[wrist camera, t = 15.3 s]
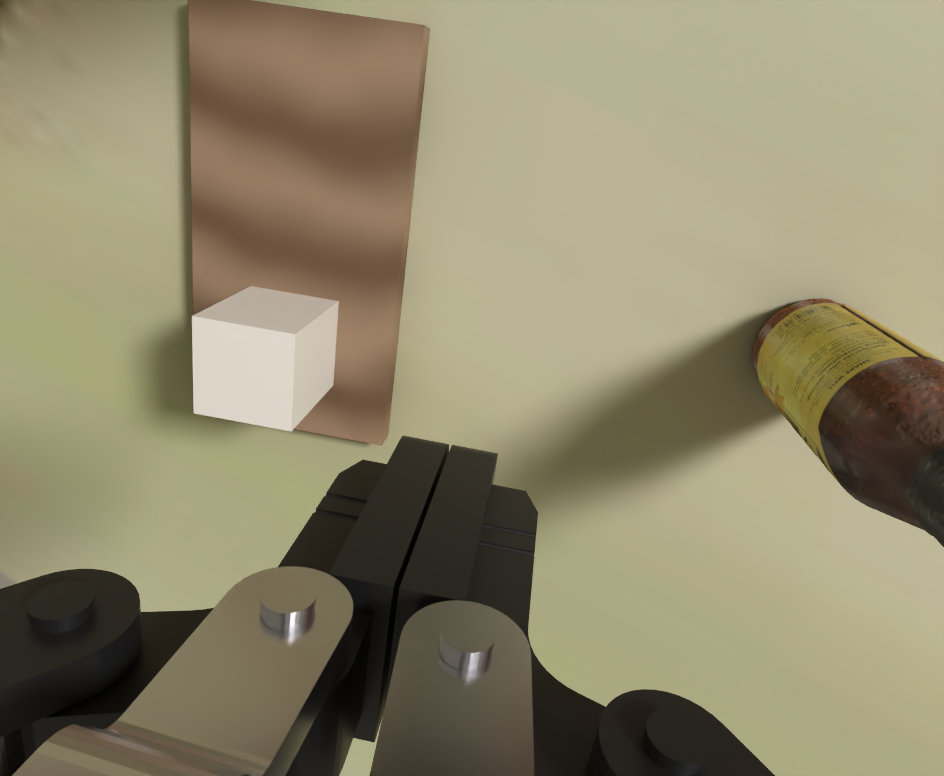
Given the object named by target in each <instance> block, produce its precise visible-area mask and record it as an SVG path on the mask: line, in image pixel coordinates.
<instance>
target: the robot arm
mask: <svg viewBox="0 0 944 776" xmlns="http://www.w3.org/2000/svg"><path fill="white" fill-rule="evenodd" d="M497 456H498V453H492V452H487V451H482V450H477V449H471V448H466V447H461V446H456V445H452V446H451V449H450V451H449V444H444V443H439V442H434V441H429V440H423V439H418V438H413V437H408V436H402V437H401V439H400V441H399V443H398V445H397V447H396V448H395V450H394V452H393V454H392V456H391V458H390V460H389V462H388V463H387V464H382V463H377V462H372V461H367V460H362V461H360V462H358V463H357V464H355V465H353V466H351V467H350V468H348V469H346V470H344V471H343V472H341V473H339V475H338V476H337V478H336V479H335V481H334V482H333V484H332V485H331V487H330V488H329V490H328V491H327V494H326V497H325V496H324V497H323V499H322V500H321V502H320V504H319V505H318V507H317V508H316V512H315V513H313V514H312V516H311V517H310V519H309V520H308V522H307V523H306V525H305V526H304V528H303V529H302V531H301V533H300V534H299V536H298V537H297V539H296V540H295V542H294V543H293V545H292V546H291V548H290V549H289V551H288V552H287V554H286V555H285V557H284V558H283V560H282V561H281V563H280V565H279V566H278V567H277V568H271V569H267V570H263V571H260V572H257V573H255V574H252V575H250V576H248V577H246V578H244V579H243V580H241V581H240V582H238V583H237V584H236V585H234V586H233V587H232V588H231V589H230V590H229V591H228V592H227V594H226V595H225V596H224V597H223V598H222V599H221V601H220V602H219V603H218V604H217V605H216V606H215V608H210V609H205V610H193V611H163V612H141V611H140V598H139V593H138V591H137V589H136V587H135V586H134V585H133V584H132V583H131V582H130V581H129V580H127V579H126V578H124V577H122V576H120V575H118V574H115V573H112V572H108V571H104V570H96V569H74V570H65V571H60V572H54V573H51V574H47V575H43V576H40V577H37V578H34V579H30V580H27V581H24V582H21V583H18V584H15V585H12V586H8V587H5V588H2V589H0V776H339V774H340V772H341V770H342V768H343V765H344V762H345V759H346V757H347V754H348V751H349V748H350V745H351V742H352V740H353V738H357V739H362V740H366V741H371V742H375V739H376V736H377V732H378V729H379V726H380V723H381V727H380V731H379V736H378V740H377V745H376V749H375V754H374V758H373V763H372V767H371V772H370V776H775V775H774V774H773V773H772V772H771V771H770V770H769V769H768V768H767V767H766V766H765V765H764V764H763V763H762V762H761V761H760V760H759V759H758V758H757V757H756V756H755V755H754V754H753V753H752V752H751V751H750V750H748V749H747V748H746V747H745V746H744V745H743V744H742V743H741V742H740V741H739V740H738V739H737V738H736V737H735V736H734V735H733V734H732V733H731V732H730V731H729V730H728V729H727V728H726V727H725V726H724V725H723V724H722V723H721V722H720V721H719V720H718V719H717V718H715V717H714V716H713V715H712V714H711V713H709V712H708V711H706V710H705V709H704V708H702V707H700V706H699V705H697V704H695V703H693V702H692V701H690V700H687V699H685V698H683V697H680V696H678V695H675V694H671V693H668V692H664V691H658V690H645V689H643V690H634V691H630V692H627V693H623V694H621V695H620V696H618V697H616V698H614V699H613V700H612V701H611V702H610V703H609V704H608V705H607V706H606V707H605V706H603V705H601V704H599V703H597V702H595V701H593V700H591V699H589V698H587V697H585V696H583V695H581V694H579V693H577V692H575V691H573V690H571V689H570V688H568V687H566V686H565V685H563V684H562V683H561V682H559V681H558V680H556V679H555V678H554V677H553V676H552V675H551V674H550V673H549V672H548V671H547V670H546V669H545V668H544V667H543V666H542V665H541V663H540V662H539V661H538V659H537V657H536V656H535V654H534V652H533V650H532V648H531V645H530V642H529V637H528V622H529V610H530V599H531V587H532V575H533V564H534V552H535V540H536V538H535V537H536V529H537V517H538V511H537V510H536V508H535V506H534V505H533V503H532V501H531V499H530V498H529V496H528V494H527V492H526V491H522V490H517V489H512V488H507V487H502V486H497V485H493V480H494V474H495V468H496V462H497ZM382 717H383V718H382ZM381 720H382V722H381Z"/></svg>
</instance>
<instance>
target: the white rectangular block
mask: <svg viewBox="0 0 944 776" xmlns="http://www.w3.org/2000/svg"><path fill="white" fill-rule="evenodd" d="M338 305H339V301H335V300H329V299H323V298H318V297H312V296H306V295H300V294H294V293H288V292H283V291H277V290H271V289H265V288H259V287H254V286H250V287H248V288H246V289H244V290H242V291H240V292H238V293H236V294H234V295H232V296H230V297H228V298H226V299H224V300H223V301H221V302H219V303H217V304H215V305H213V306H211V307H209V308H207V309H205V310H203V311H201V312H199V313H197V314H195V315H193V316H192V350H193V405H194V413H195V414H200V415H206V416H211V417H216V418H222V419H227V420H232V421H238V422H243V423H248V424H254V425H259V426H264V427H270V428H275V429H280V430H286V431H292V430H293V429H294V428H295V427H296V426H297V425H298V424H299V423H300V422H301V420H302V419H303V418H304V417H305V416H306V415H307V414H308V413H309V412H310V411H311V409H312V408H313V407H314V406H315V405H316V404H317V403H318V402H319V401H320V400H321V398H322V397H323V396H324V395H325V394H326V393H327V392H328V391H329V390H330V389H331V387H332V386H333V382H334V367H335V352H336V336H337V321H338Z"/></svg>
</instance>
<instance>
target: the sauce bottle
mask: <svg viewBox="0 0 944 776" xmlns="http://www.w3.org/2000/svg"><path fill="white" fill-rule="evenodd" d="M752 358H753V364H754V367H755V371H756V372H757V378H758V380H759V382H760V384H761V387H762V389H763V391H764V392H765V394H766V395H767V396H768V397H769V398H770V400H771V401H772V402H773V403H774V404H775V406H776V407H777V408H778V409H779V410H780V412H781V413H782V414H783V415H784V416H785V418H786V419H787V420H788V421H789V423H790V424H791V425H792V427H793V428H794V429H795V430H796V432H797V433H798V434H799V435H800V436H801V437H802V439H803V440H804V441H805V443H806V444H807V445H808V446H809V447H810V449H811V450H812V451H813V452H814V453H815V455H816V456H817V457H818V458H819V459H820V460H821V461H822V463H823V464H824V465H825V467H826V468H827V469H828V471H829V472H830V473H831V474H832V475H833V476H834V477H835V479H836V480H837V481H838V482H839V483H840V485H841V486H842V487H843V488H844V489H845V490H846V491H847V492H848V493H849V494H850V495H851V496H853V497H854V498H855V499H857V500H858V501H859V502H861V503H863V504H865V505H867V506H868V507H871V508H873V509H876V510H878V511H880V512H883V513H885V514H887V515H890V516H892V517H894V518H897V519H899V520H901V521H904V522H906V523H909V524H911V525H913V526H916V527H918V528H921V529H923V530H925V531H926V532H928V533H929V534H930V535H932V536H934V537H935V538H936V539H937V540H938V541H939V543H940V544H941V545H942V546H943V547H944V361H942V360H940V359H939V358H937V357H935V356H934V355H932V354H930V353H929V352H927V351H925V350H924V349H922V348H920V347H918V346H917V345H915V344H913V343H912V342H910V341H908V340H907V339H905V338H904V337H902V336H900V335H899V334H897V333H895V332H894V331H892V330H890V329H888V328H887V327H885V326H883V325H882V324H880V323H878V322H877V321H875V320H873V319H872V318H870V317H868V316H866V315H865V314H863V313H861V312H860V311H858V310H856V309H854V308H852V307H850V306H847V305H845V304H840V303H835V302H834V301H832V300H829V299H808V300H804V301H799V302H797V303H795V304H792V305H790V306H787V307H785V308H783V309H782V310H779V311H778V312H777V313H775V314H774V315H773V316H772V317H771V318H770V319H769V320H768V321H767V322H766V323H765V325H764V326H763V328H762V329H761V330H760V332H759V333H758V335H757V339H756V341H755V343H754V347H753V354H752Z"/></svg>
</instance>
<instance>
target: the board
mask: <svg viewBox="0 0 944 776" xmlns="http://www.w3.org/2000/svg"><path fill="white" fill-rule="evenodd" d="M188 5H189V70H190V135H191V199H192V264H193V315H195V314H197V313H199V312H201V311H203V310H205V309H207V308H209V307H211V306H213V305H215V304H217V303H219V302H221V301H223V300H224V299H226V298H228V297H230V296H232V295H234V294H236V293H238V292H240V291H242V290H244V289H246V288H248V287H250V286H254V287H259V288H265V289H271V290H277V291H283V292H288V293H294V294H300V295H306V296H312V297H318V298H323V299H329V300H335V301H339V305H338V321H337V336H336V352H335V367H334V382H333V386H332V387H331V389H330V390H329V391H328V392H327V393H326V394H325V395H324V396H323V397H322V398H321V400H320V401H319V402H318V403H317V404H316V405H315V406H314V407H313V408H312V409H311V411H310V412H309V413H308V414H307V415H306V416H305V417H304V418H303V419H302V420H301V422H300V423H299V424H298V425H297V426H296V427H295V428H294V429H297V430H302V431H307V432H313V433H318V434H323V435H329V436H334V437H339V438H344V439H350V440H355V441H360V442H366V443H371V444H376V445H381V446H382V445H383V443H384V441H385V439H386V438H387V436H388V430H389V421H390V411H391V401H392V392H393V382H394V372H395V362H396V353H397V343H398V333H399V324H400V314H401V304H402V294H403V285H404V275H405V265H406V256H407V246H408V236H409V226H410V217H411V207H412V197H413V188H414V178H415V168H416V159H417V149H418V139H419V129H420V120H421V110H422V100H423V91H424V81H425V71H426V61H427V52H428V42H429V32H430V29H429V28H428V27H426V26H425V25H420V24H413V23H406V22H399V21H392V20H385V19H378V18H371V17H364V16H357V15H349V14H342V13H335V12H328V11H321V10H314V9H307V8H300V7H293V6H286V5H279V4H272V3H265V2H258V1H251V0H188Z"/></svg>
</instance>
